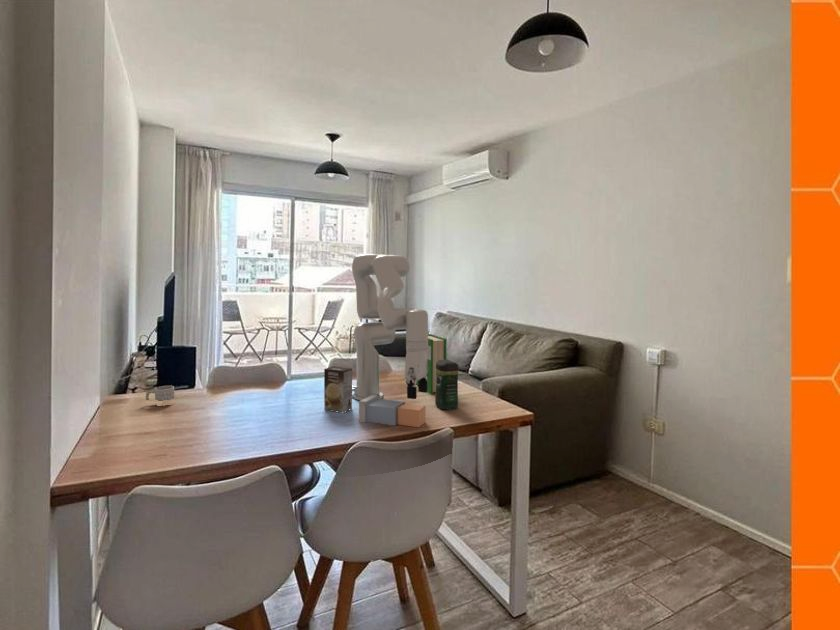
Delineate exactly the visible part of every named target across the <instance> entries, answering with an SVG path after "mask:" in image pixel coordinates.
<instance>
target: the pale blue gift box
mask: <svg viewBox="0 0 840 630" xmlns="http://www.w3.org/2000/svg"><path fill="white" fill-rule="evenodd" d="M404 403H406V401H399V400H395V399H394V400H392V399H383V398H381V399H379V395H377V394H373V395H371V396H369V397H367V398H365V399H363V400H358V422H359V421H360V423H366V421H367V423H372V422H373V424H379V423H380V424H381V425H386V424H387V425H388V426H393V425H394V427H395V426H396V425H399V424H398V407H399V406H401V405H403V404H404ZM387 425H386V426H387Z"/></svg>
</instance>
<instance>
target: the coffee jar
mask: <svg viewBox="0 0 840 630" xmlns="http://www.w3.org/2000/svg"><path fill="white" fill-rule="evenodd" d="M459 371H460V370H459V364H458V363H457V362H454V361H451V360H449V359H446V360H439V361H438V362H437V363H436V392H435V395H434V396H435V397H434V398H435V400H434V401H435V403H434V404H435V406H436V407H437V408H439V409H441V410H448V411H450V410H451V411H452V410H454V409H457V408H458V407H459V389H458V387H459V381H458V380H459Z"/></svg>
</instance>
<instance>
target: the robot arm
mask: <svg viewBox="0 0 840 630" xmlns="http://www.w3.org/2000/svg"><path fill="white" fill-rule="evenodd" d="M410 270H411V269H410V263H409V260H408V258H406V257H405V256H403V255H397V254H396V255H394V254H380V253H379V254H377V253H363V254H358V255H356V256H355V257H354V258H353V259H352V263H351V271H352V277H353V279H354V283H355V290H356V313H357V316H358V317H359V318H360V319H361V320H380V321H378V322H377V321H376V322H375V321H374V322H373V321H371V322H361V323H358V324H357V325H356V326H355V328H354V330H353V337H354V342H355V351H356V353H355V354H356V385H352V392H354V393H352V399H354V400H356V399H357V400H356V401H361V400H363V399H365V398H367V397H369V396H371V395H373V394H377V395H379V399H383V397H384V394H383V392H381V391H380V354H379V352H378V350H377V349H376V348H375V346H379V345H388V344H392V343H393V342H394V341H395V337H396V331H400V330H401V331H402V330H405V349H406V354H405V361H404V362H405V363H404V365H405V366H404V379H405V383H406V393H407V394H406V397H407V398H406V399H408V400H409V399H411V400H416V399H417V396H418V395H417V388H418V392H419V393H428V392H427V375H428V362H427V350H428V334H429V313H428V311H427V310H425V309H417V308H414V307H408V308H406V307H403V308H399V307H398V308H396V307H395V304H394V301H393V298H395V297H397V296H398V295H400V294H401V293H402V292H403V290H404V287H405V284H404V281H403V280H402V278H404V277H407V276H408V275H409V272H410ZM372 276H375V278H376V280H377V282H378V284H379V287H380V290H381V293H380V294H379V295H378V289H377V283H376V281H375V280H374V279H373V277H372ZM417 380H420V381H418V386H416V382H417Z"/></svg>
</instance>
